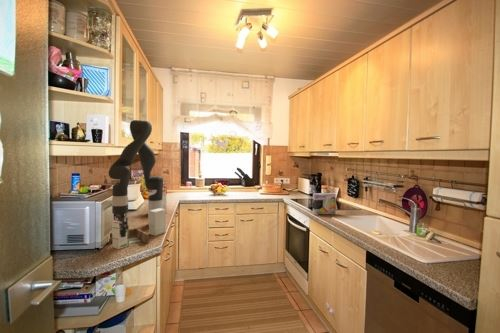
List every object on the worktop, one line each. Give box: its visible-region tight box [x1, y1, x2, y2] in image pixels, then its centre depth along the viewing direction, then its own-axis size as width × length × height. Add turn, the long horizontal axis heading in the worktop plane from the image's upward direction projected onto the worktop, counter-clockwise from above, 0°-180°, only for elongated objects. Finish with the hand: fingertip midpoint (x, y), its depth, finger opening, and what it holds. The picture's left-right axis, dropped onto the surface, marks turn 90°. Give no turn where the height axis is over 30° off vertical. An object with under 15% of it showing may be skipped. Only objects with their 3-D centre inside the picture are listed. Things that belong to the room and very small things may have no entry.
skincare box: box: [148, 208, 167, 237], centre depth 161 cm, size 8×6×15 cm
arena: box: [107, 227, 150, 245], centre depth 144 cm, size 16×16×5 cm
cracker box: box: [147, 187, 167, 211], centre depth 211 cm, size 14×6×21 cm, turn 66°
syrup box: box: [111, 219, 130, 250], centre depth 138 cm, size 6×6×14 cm
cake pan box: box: [312, 192, 337, 216], centre depth 218 cm, size 19×5×18 cm, turn 94°
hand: (120, 235), depth 138 cm, fingers open, 7 cm apart
